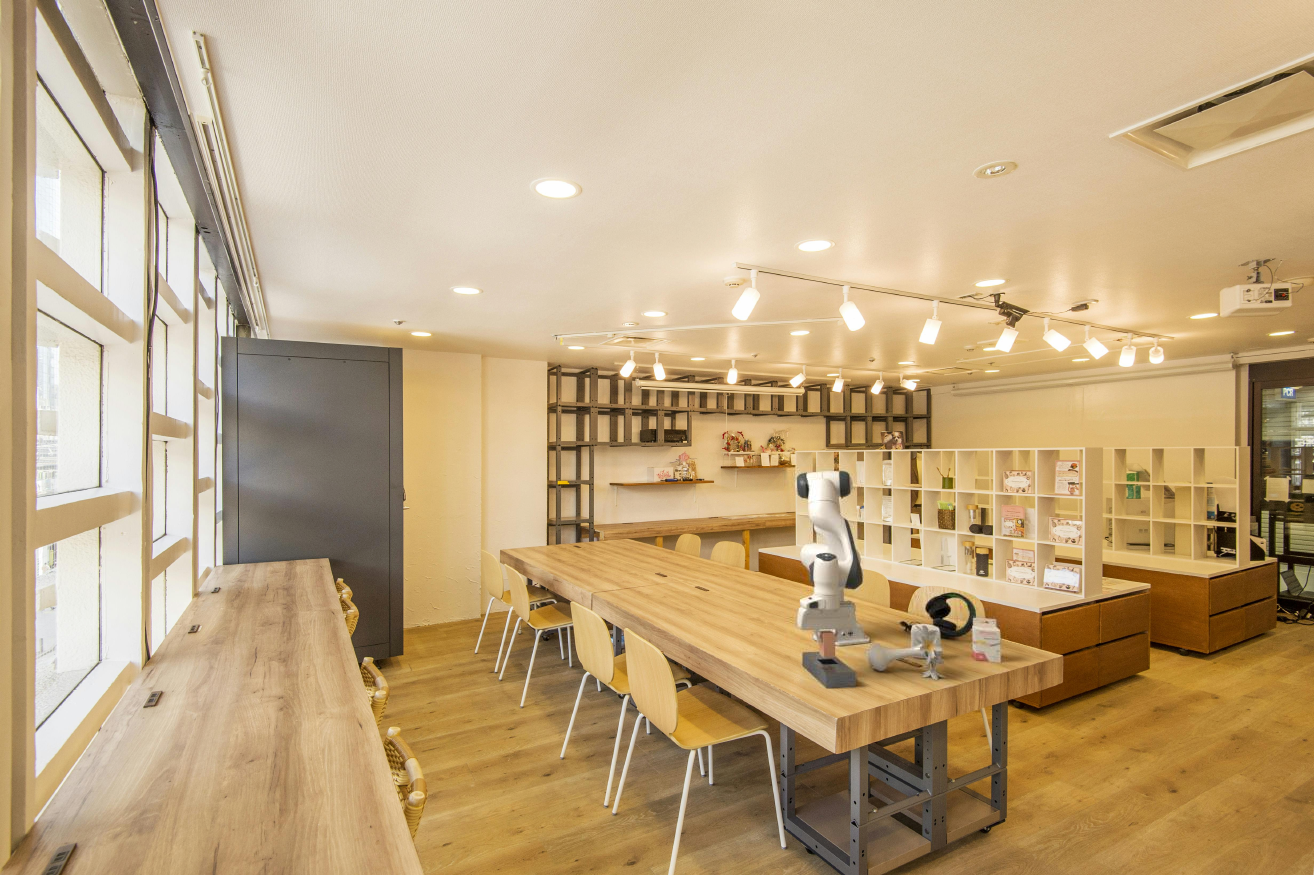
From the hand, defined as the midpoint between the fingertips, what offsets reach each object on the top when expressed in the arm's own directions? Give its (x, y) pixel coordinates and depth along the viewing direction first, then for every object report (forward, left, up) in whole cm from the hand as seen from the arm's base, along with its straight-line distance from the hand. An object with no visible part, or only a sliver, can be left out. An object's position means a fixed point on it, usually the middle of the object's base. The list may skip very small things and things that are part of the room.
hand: (827, 641), depth 212 cm
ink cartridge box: (-65, -9, -12) cm, 67 cm away
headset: (-64, -39, -12) cm, 76 cm away
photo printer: (-44, -14, -12) cm, 48 cm away
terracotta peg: (0, 0, -5) cm, 5 cm away
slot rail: (0, 0, -12) cm, 12 cm away
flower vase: (-28, +1, -12) cm, 30 cm away
